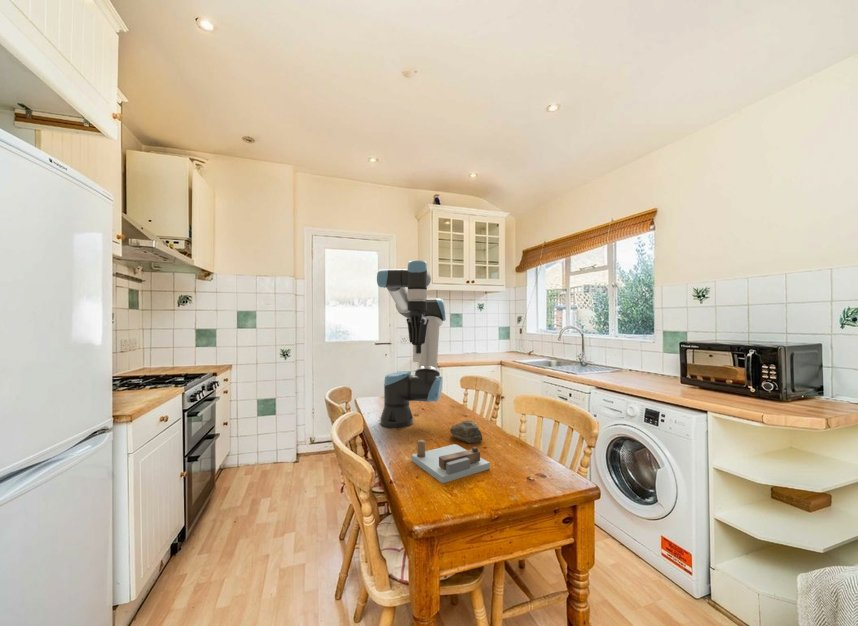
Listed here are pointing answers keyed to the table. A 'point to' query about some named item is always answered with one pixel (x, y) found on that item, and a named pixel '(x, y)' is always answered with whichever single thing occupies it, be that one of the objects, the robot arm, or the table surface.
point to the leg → (460, 457)
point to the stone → (467, 432)
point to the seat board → (434, 463)
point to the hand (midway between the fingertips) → (416, 361)
